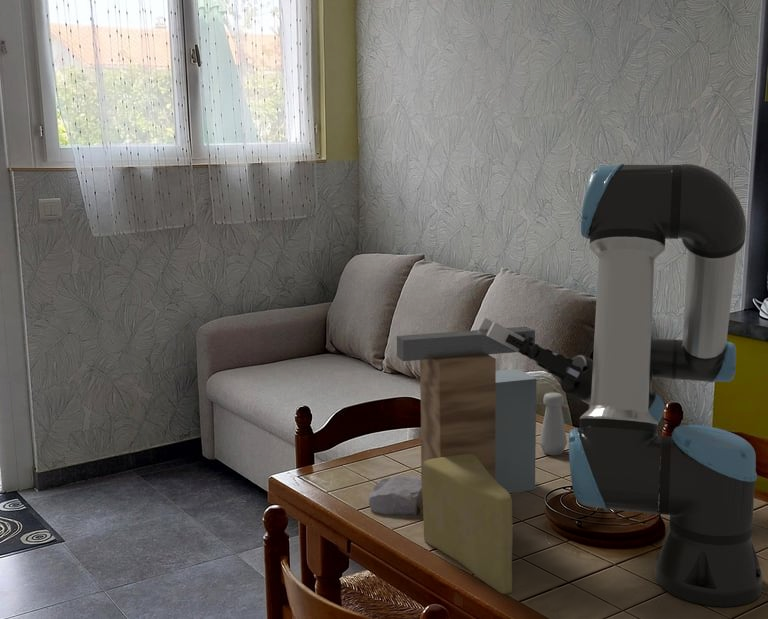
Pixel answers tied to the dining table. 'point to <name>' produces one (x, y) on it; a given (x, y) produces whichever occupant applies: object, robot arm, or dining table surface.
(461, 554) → the cheese
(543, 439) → the salt shaker
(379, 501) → the stone block
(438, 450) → the walnut stand
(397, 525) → the dining table surface
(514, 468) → the grey-blue block
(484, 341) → the steel bar
